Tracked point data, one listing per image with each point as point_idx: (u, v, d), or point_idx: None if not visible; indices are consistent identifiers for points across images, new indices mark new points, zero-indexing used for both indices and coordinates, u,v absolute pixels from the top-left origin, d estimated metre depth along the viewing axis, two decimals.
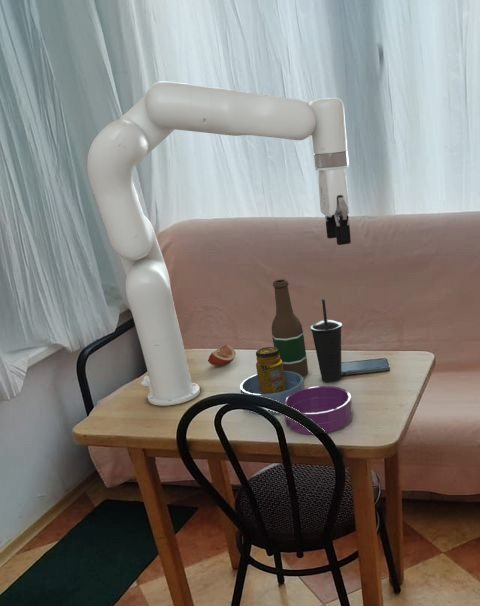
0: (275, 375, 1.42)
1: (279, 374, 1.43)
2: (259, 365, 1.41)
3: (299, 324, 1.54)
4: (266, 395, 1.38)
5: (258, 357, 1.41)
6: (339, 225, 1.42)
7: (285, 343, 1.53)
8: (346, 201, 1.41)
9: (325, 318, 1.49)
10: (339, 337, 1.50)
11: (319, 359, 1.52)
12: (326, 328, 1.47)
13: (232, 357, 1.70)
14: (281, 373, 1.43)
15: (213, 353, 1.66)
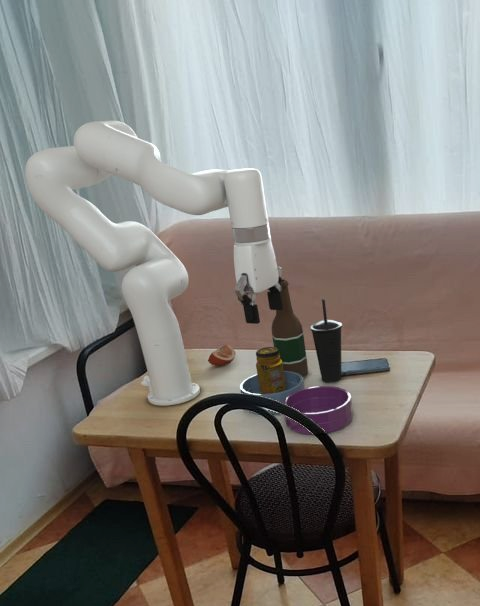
0: (275, 375, 1.42)
1: (279, 374, 1.43)
2: (259, 365, 1.41)
3: (299, 324, 1.54)
4: (266, 395, 1.38)
5: (258, 357, 1.41)
6: (242, 304, 1.31)
7: (285, 343, 1.53)
8: (251, 280, 1.29)
9: (325, 318, 1.49)
10: (339, 337, 1.50)
11: (319, 359, 1.52)
12: (326, 328, 1.47)
13: (232, 357, 1.70)
14: (281, 373, 1.43)
15: (213, 353, 1.66)
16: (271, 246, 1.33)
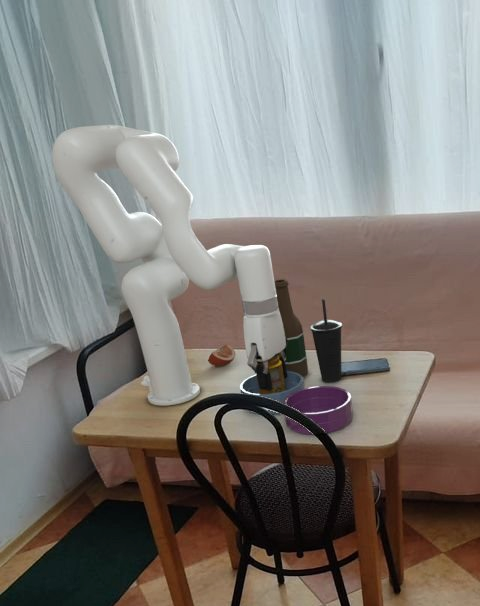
0: (274, 377, 1.41)
1: (278, 375, 1.42)
2: None
3: (299, 324, 1.54)
4: (266, 395, 1.38)
5: None
6: (256, 372, 1.39)
7: None
8: (260, 349, 1.35)
9: (325, 318, 1.49)
10: (339, 337, 1.50)
11: (319, 359, 1.52)
12: (326, 328, 1.47)
13: (232, 357, 1.70)
14: (280, 374, 1.42)
15: (213, 353, 1.66)
16: (279, 315, 1.39)
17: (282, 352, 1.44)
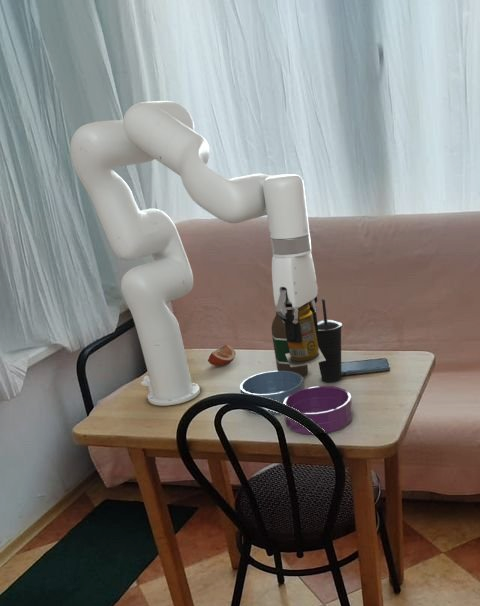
0: (305, 328, 1.25)
1: (310, 327, 1.26)
2: None
3: None
4: (266, 395, 1.38)
5: None
6: (284, 322, 1.23)
7: (285, 343, 1.53)
8: (290, 294, 1.19)
9: (325, 318, 1.49)
10: (339, 337, 1.50)
11: None
12: (326, 328, 1.47)
13: (232, 357, 1.70)
14: (312, 325, 1.27)
15: (213, 353, 1.66)
16: (311, 258, 1.23)
17: (313, 301, 1.28)
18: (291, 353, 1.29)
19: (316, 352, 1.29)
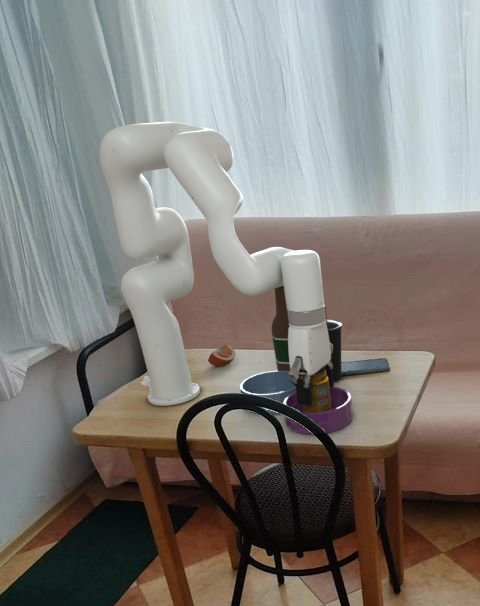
0: (321, 393, 1.31)
1: (326, 392, 1.31)
2: None
3: None
4: (266, 395, 1.38)
5: None
6: (295, 386, 1.27)
7: (285, 343, 1.53)
8: (305, 363, 1.24)
9: None
10: (339, 337, 1.50)
11: None
12: None
13: (232, 357, 1.70)
14: (327, 391, 1.32)
15: (213, 353, 1.66)
16: (325, 326, 1.28)
17: None
18: None
19: None
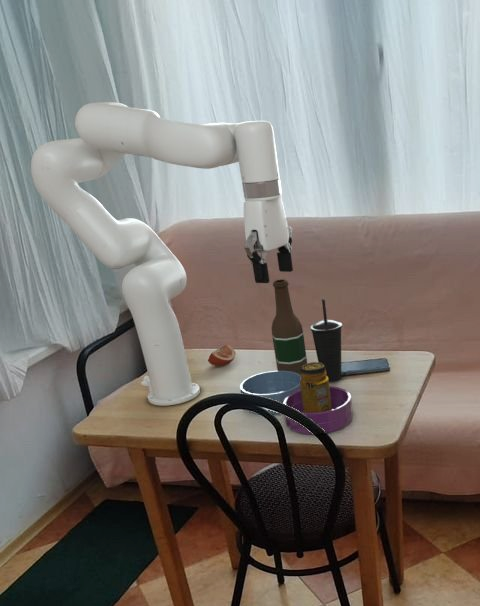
0: (321, 393, 1.31)
1: (326, 392, 1.31)
2: (304, 382, 1.30)
3: (299, 324, 1.54)
4: (266, 395, 1.38)
5: (303, 374, 1.29)
6: (252, 262, 1.28)
7: (285, 343, 1.53)
8: (261, 237, 1.25)
9: (325, 318, 1.49)
10: (339, 337, 1.50)
11: (319, 359, 1.52)
12: (326, 328, 1.47)
13: (232, 357, 1.70)
14: (327, 391, 1.32)
15: (213, 353, 1.66)
16: (282, 203, 1.29)
17: None
18: None
19: None
